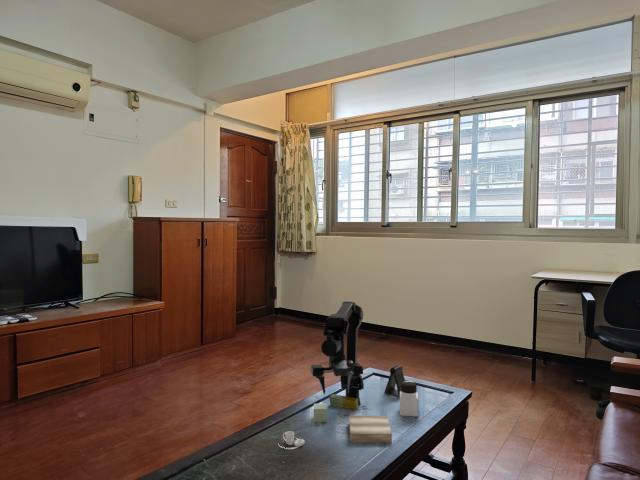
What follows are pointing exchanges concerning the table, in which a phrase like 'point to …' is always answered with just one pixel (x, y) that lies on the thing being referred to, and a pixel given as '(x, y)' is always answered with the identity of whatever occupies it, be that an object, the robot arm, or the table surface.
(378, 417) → the base block
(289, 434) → the teacup and saucer
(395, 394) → the phone stand
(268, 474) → the table surface
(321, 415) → the green cube
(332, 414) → the table surface
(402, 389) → the medicine bottle
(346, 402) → the medication box
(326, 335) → the robot arm
